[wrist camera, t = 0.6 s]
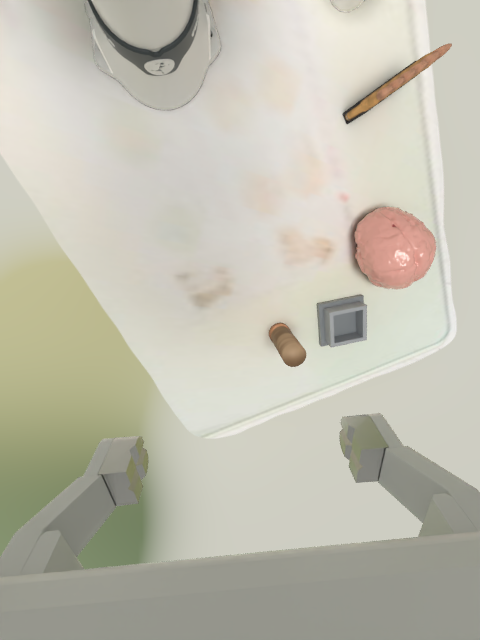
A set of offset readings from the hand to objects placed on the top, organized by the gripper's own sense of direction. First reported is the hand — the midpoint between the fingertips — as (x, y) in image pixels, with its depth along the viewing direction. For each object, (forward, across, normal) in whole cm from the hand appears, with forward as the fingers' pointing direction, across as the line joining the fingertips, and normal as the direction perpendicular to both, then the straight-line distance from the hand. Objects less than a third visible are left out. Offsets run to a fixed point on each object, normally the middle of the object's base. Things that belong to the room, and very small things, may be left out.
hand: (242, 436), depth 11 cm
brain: (+49, -30, +5) cm, 58 cm away
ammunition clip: (+51, -26, -20) cm, 61 cm away
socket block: (+47, -23, +20) cm, 56 cm away
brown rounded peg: (+46, -9, +21) cm, 51 cm away
